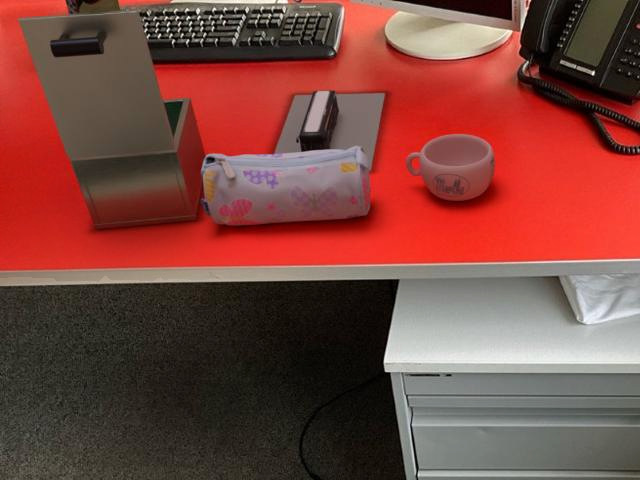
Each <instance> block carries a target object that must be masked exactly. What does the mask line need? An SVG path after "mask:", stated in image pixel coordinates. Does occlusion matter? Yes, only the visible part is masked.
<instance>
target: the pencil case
mask: <svg viewBox="0 0 640 480" xmlns="http://www.w3.org/2000/svg"><path fill="white" fill-rule="evenodd" d="M205 156H206V157H205V159H204V161H203V165H202V169H201V176H202V179H203V194H204V198H200V204H201V206H202V209H203V211H204V213H205V214H206V216H209V217H210V219H211V220H212V222H214V223H215V224H216V225H226V226H231V227H233V226H235V227H236V226H256V225H267V224H279V223H281V224H282V223H283V224H284V223H293V222H294V223H295V222H310V221H311V222H312V221H332V220H345V219H352V218H357V217H364V216H367V215H368V213H369V212H370V209H371V180H370V179H371V178H370V171H369V169H368V157H367V156H366V155H365V152H364V149H363V148H362V147H359V146H354V147H351V148H349V149H347V150H340V149H327V150H314V151H306V152H295V153H282V154H274V153H267V154H266V153H263V154H260V153H259V154H255V153H254V154H252V153H251V154H249V153H248V154H240V155H231V156H227V155H225V154H224V153H216V152H215V153H214V152H213V153H212V152H211V153H208V154H206V155H205Z"/></svg>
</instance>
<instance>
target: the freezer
mask: <svg viewBox="0 0 640 480" xmlns="http://www.w3.org/2000/svg"><path fill="white" fill-rule="evenodd" d="M163 102H164V106H165V110H166V113H167V117H168V120H169V124H170V128H171V131H172V135H173V139H174V142H175V146H176V148H175V150H166V151H155V152H143V153H131V154H119V155H107V156H95V157H83V158H71V159H69V161H70V164H71V167H72V170H73V172H74V174H75V177H76V180H77V184H78V186H79V188H80V191H81V194H82V196H83V199H84V202H85V205H86V207H87V210H88V212H89V215H90V217H91V220H92V223H93V226H94V229H95V230H106V229H116V228H118V229H119V228H127V227H128V228H129V227H139V226H149V225H162V224H172V223H180V222H181V223H182V222H183V223H184V222H193V221H196V220H197V216H198V213H199V208H200V207H199V206H200V203H201V201H200V199H201V196H202V192H203V187H204V184H203V179H202V176H201V169H202V165H203V161H204V159H205V157H206V156H207V155H206V152H205V149H204V148H205V147H204V144H203V141H202V137H201V133H200V129H199V126H198V122H197V119H196V118H197V117H196V114H195V110H194V107H193V102H192V99H191V97H180V98H168V99H163Z"/></svg>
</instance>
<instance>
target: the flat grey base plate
mask: <svg viewBox="0 0 640 480" xmlns="http://www.w3.org/2000/svg"><path fill="white" fill-rule="evenodd" d="M385 96H386V93H385V92H374V93H371V92H368V93H367V92H366V93H337V92H336V90H326V89H325V90H314V91H312V94H295V95H294V97H293V100H292V103H291V105H290V108H289V111H288V114H287V116H286V119H285V122H284V125H283V127H282V129H281V133H280V135H279V139H278V141H277V144H276V147H275V150H274V153H273V154H282V153H295V152H306V151H314V150H327V149H340V150H347V149H349V148H351V147H354V146H359V147H362V148H363V149H364V152H365V155H366V156H367V157H368V169H369V172H371V171H372V167H373V161H374V155H375V150H376V145H377V140H378V134H379V130H380V123H381V118H382V112H383V107H384V101H385V98H386V97H385Z"/></svg>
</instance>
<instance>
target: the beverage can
mask: <svg viewBox="0 0 640 480" xmlns="http://www.w3.org/2000/svg"><path fill="white" fill-rule="evenodd" d="M65 5H66V8H67V12H68V14H80V13H94V12H109V11H121V8H120V1H119V0H65Z"/></svg>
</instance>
